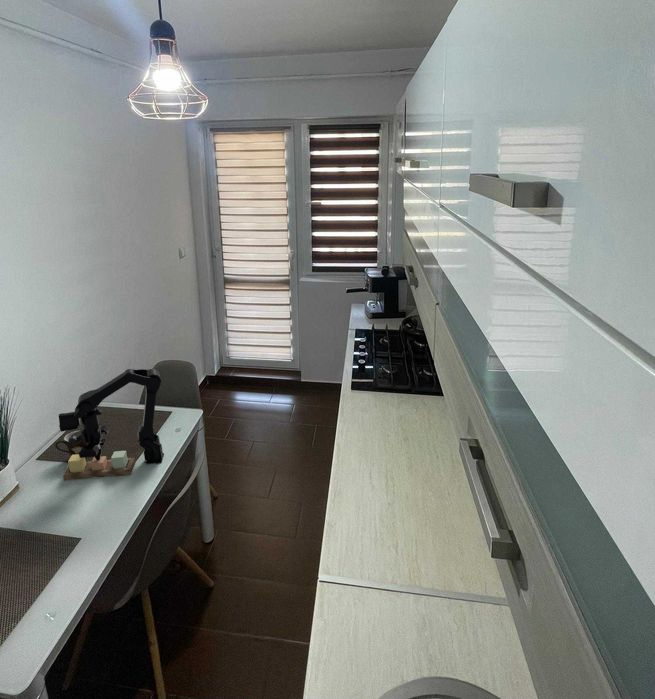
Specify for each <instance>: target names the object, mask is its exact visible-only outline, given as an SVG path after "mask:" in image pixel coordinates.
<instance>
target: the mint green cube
mask: <svg viewBox="0 0 655 699" xmlns="http://www.w3.org/2000/svg"><path fill="white" fill-rule="evenodd" d="M128 458H129V457H128V454H127V450H118V451H113V454H112V455H111V457H110V459H111V460H112V465H113V469H120V468H126V467H127V463H128Z"/></svg>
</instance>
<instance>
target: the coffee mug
mask: <svg viewBox="0 0 655 699" xmlns="http://www.w3.org/2000/svg"><path fill="white" fill-rule="evenodd" d="M78 431H79V430H73V431H72V432H70V433H68V434H66V435H65V436H64V437H63V440H59V441H57V442H56V443H55V448H56V449H57V450H59V451H61V452H63V453H67V454H69V455H70V457H71V456H72V455H77V454H79V451H80V450H81V448H82V447H83V446H87V445H88V443H86V444H83V442H81V443H79V444H77V445H75V446H71V445H70V444H69V438H70V437H71V435H72V434H73V433H76V432H78ZM61 443H63V444H64V445H65V446H66V447H67V450H65V449H61V448H60V447H58V444H61ZM87 458H88V457H85V459H87Z"/></svg>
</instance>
